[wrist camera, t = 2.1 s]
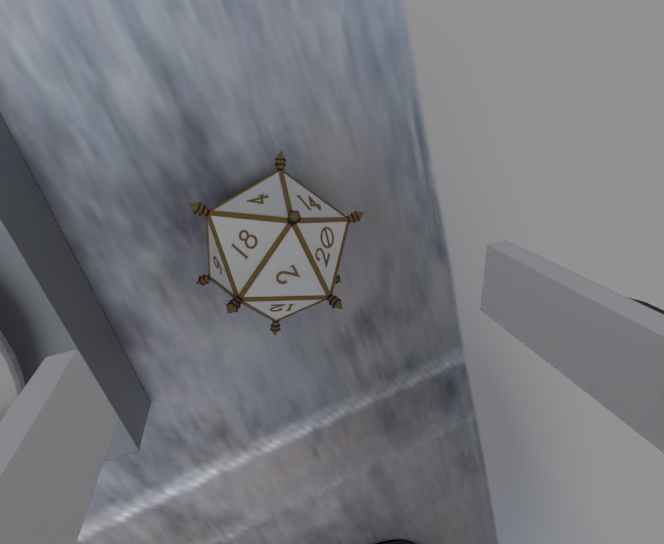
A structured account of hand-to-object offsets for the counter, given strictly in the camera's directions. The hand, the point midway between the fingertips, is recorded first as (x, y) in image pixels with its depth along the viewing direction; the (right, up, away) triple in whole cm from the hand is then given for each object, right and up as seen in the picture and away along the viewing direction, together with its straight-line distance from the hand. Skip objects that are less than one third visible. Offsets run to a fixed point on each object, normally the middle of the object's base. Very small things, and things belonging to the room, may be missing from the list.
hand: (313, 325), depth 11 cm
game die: (-3, +5, +11) cm, 12 cm away
